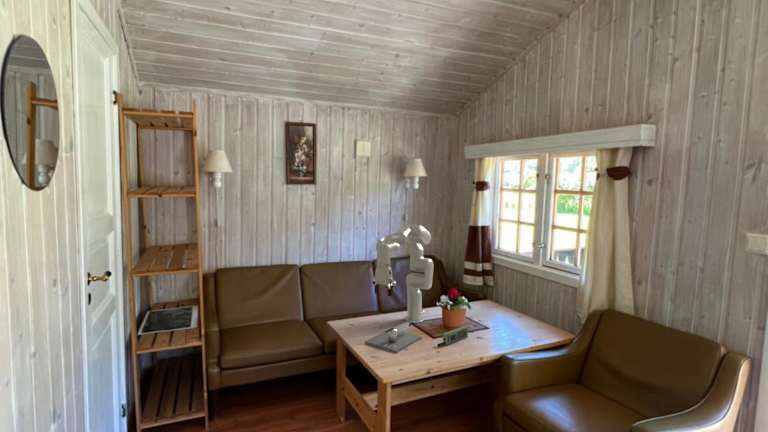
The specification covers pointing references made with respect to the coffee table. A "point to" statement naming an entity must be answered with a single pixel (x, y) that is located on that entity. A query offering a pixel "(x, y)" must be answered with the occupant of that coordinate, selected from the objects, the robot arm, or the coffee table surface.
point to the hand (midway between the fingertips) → (383, 294)
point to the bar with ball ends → (396, 331)
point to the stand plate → (402, 342)
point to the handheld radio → (454, 335)
